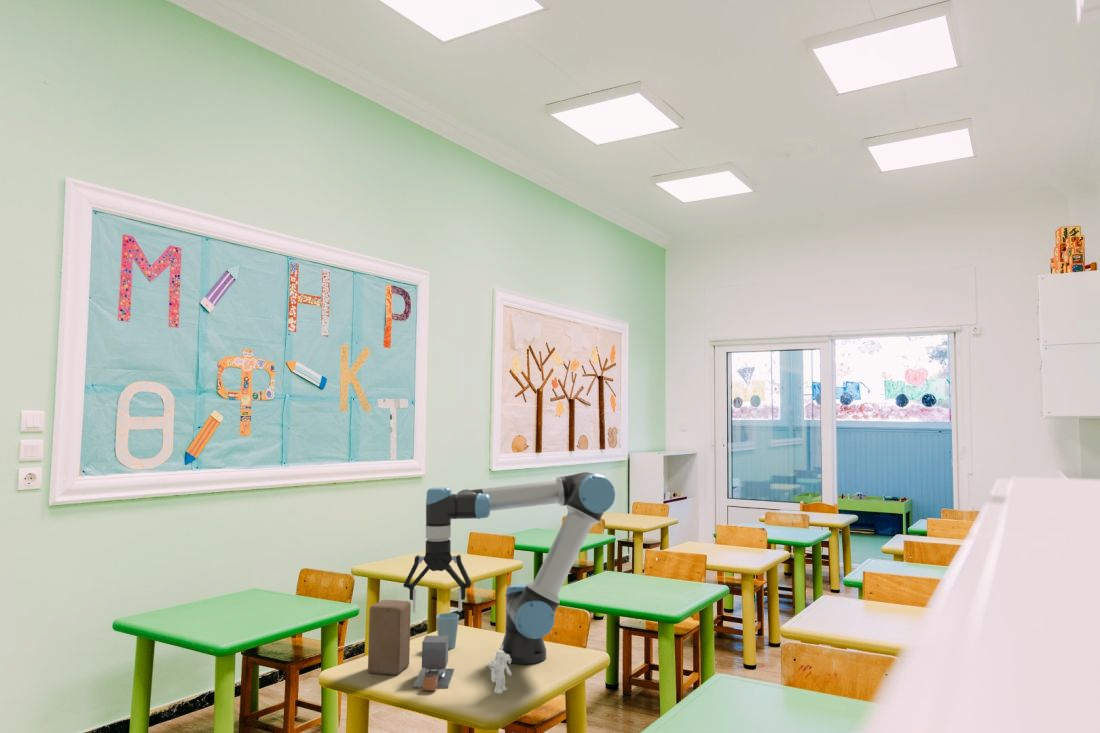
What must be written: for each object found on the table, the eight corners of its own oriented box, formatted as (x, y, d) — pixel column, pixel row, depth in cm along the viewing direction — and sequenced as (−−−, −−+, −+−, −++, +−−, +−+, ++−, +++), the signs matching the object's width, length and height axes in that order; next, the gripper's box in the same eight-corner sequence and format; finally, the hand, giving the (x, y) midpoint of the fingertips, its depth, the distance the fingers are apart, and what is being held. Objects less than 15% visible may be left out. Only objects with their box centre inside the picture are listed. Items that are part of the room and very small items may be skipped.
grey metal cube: (445, 668, 218) (445, 642, 218) (421, 668, 217) (422, 642, 218) (448, 660, 225) (448, 635, 225) (425, 660, 224) (425, 635, 225)
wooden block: (397, 676, 220) (399, 607, 222) (366, 673, 222) (368, 606, 224) (410, 666, 230) (411, 600, 232) (380, 663, 232) (382, 598, 234)
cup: (455, 650, 246) (455, 618, 247) (432, 649, 247) (433, 617, 248) (461, 644, 254) (461, 613, 254) (439, 643, 255) (440, 612, 256)
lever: (454, 669, 227) (454, 645, 227) (446, 691, 208) (447, 664, 208) (421, 669, 226) (422, 645, 227) (411, 691, 208) (411, 664, 208)
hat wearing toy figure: (503, 684, 214) (504, 642, 215) (514, 687, 212) (515, 644, 213) (484, 694, 206) (485, 650, 207) (496, 696, 204) (496, 652, 205)
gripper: (480, 537, 228) (479, 607, 226) (399, 537, 227) (398, 608, 226) (478, 540, 221) (477, 613, 219) (394, 541, 220) (393, 614, 218)
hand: (437, 610), depth 222 cm, fingers open, 13 cm apart
